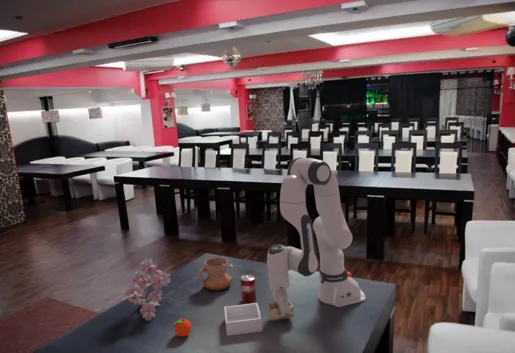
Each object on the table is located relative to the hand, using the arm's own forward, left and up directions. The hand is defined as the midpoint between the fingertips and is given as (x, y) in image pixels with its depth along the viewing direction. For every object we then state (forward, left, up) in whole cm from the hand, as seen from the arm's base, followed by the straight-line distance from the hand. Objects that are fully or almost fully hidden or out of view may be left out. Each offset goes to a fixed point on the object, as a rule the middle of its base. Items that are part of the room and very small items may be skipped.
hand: (280, 311), depth 171 cm
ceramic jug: (+27, -37, -4) cm, 46 cm away
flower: (+59, -18, -4) cm, 62 cm away
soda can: (+12, -19, -4) cm, 23 cm away
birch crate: (0, 0, -2) cm, 2 cm away
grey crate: (+17, +1, -4) cm, 17 cm away
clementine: (+43, +3, -4) cm, 43 cm away
